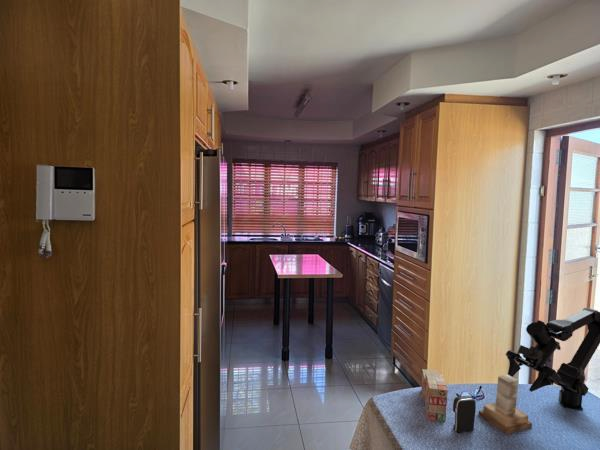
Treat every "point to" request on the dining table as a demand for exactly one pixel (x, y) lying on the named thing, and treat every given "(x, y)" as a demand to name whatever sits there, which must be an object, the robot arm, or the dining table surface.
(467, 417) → the battery charger
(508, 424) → the maple block
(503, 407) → the ash block
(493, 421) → the wooden base plate
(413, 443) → the dining table surface
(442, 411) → the stack of blocks
